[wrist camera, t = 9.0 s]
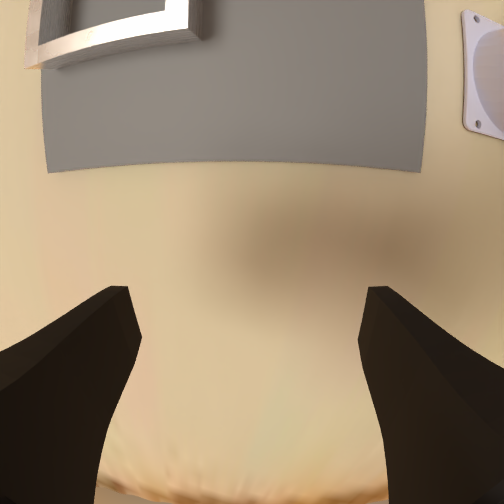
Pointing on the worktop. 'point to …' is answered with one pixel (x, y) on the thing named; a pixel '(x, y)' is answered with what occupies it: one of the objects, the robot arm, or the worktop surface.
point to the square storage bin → (104, 33)
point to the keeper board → (248, 88)
